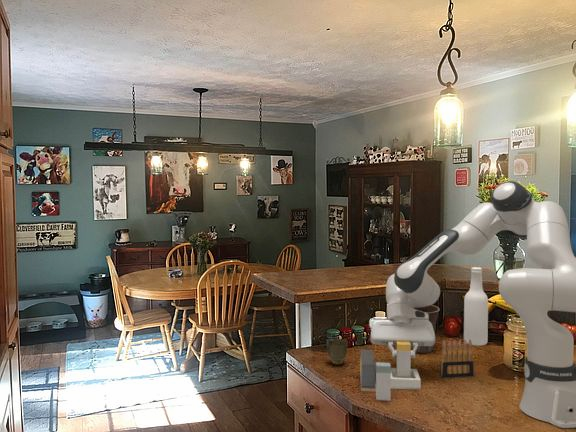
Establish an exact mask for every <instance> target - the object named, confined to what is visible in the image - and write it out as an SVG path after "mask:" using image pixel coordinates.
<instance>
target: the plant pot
mask: <svg viewBox="0 0 576 432" xmlns="http://www.w3.org/2000/svg"><path fill="white" fill-rule="evenodd" d="M414 309H416V310H419V311H422V312H426V313H428V315H429V321H430V322H431V324H432V326H433V329H434V333H435V334H436V327H437V326H436V325H437V321H438V317H439V312H440V311H441V310H440V307H438V306H437V305H434V304H433V305H430V306H427V307H421V308H414ZM413 349H414V348H413V346H411V350H413ZM433 350H434V345H433V346H418V347H417V350H416V352H415V354H417V353H420V354H427V353H428V354H429V353H431V352H433Z"/></svg>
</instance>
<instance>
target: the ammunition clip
mask: <svg viewBox="0 0 576 432" xmlns="http://www.w3.org/2000/svg"><path fill="white" fill-rule="evenodd" d="M441 345H442V347H441V356H440V357H441V360H440V371H439V376H440V377H441V378H442V379H447V378H449V379H451V378H468V377H469V378H470V377H471V378H472V377H475V376H474V375H475V374H474V373H475V372H474V369H475V368H474V358H473V356H474V353H473V345H472V342H471V339H470V340H469V344H467V343H466V340H464V339H463V344H462V341H461V339H459V340H458V341H457V342H456V340H455V339H454V340H453V342H452V343H451V339H448V341H447V343H446V340H443V342H442V344H441Z"/></svg>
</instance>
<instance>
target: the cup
mask: <svg viewBox="0 0 576 432" xmlns="http://www.w3.org/2000/svg"><path fill="white" fill-rule="evenodd" d="M325 343H326V350H327V356H328V358H329V359H330V360H331V363H332V364H333V366H334V365H335V366H340V365H342V364H343V360H344V359H346V356H347V351H348V345H349V344H348V341H347V339H345V340H344V338H343V339H342V340H341V338H336V339H335V338H332V339H331V338H329V339H326V342H325Z"/></svg>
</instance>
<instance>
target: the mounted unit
mask: <svg viewBox="0 0 576 432" xmlns="http://www.w3.org/2000/svg"><path fill="white" fill-rule="evenodd" d="M359 359H360V360H359V368H360V369H359V381H360V383H359V385H360V392H366V393H367V392H369V393H370V392H371V393H376V359H375V354H374V349H360V358H359Z"/></svg>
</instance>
